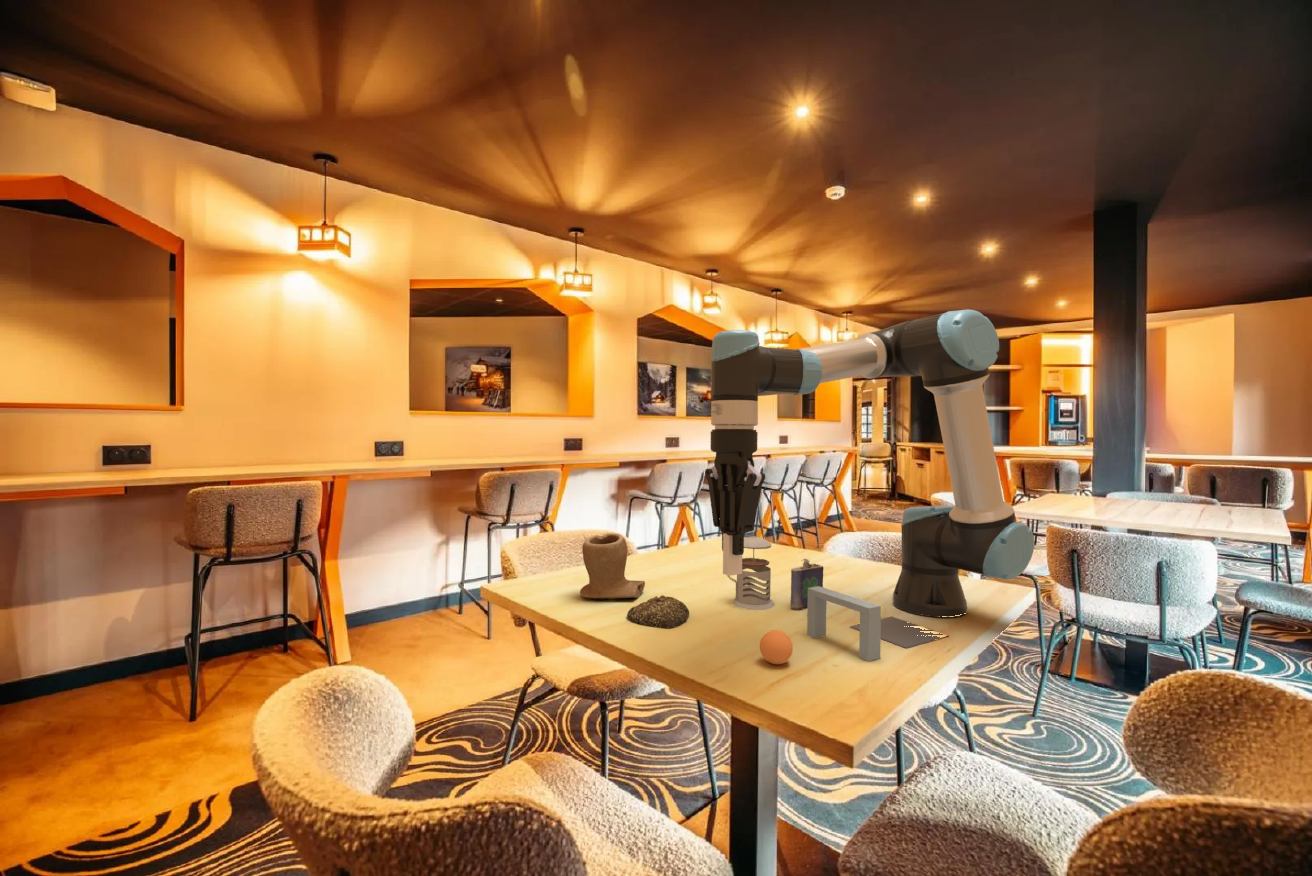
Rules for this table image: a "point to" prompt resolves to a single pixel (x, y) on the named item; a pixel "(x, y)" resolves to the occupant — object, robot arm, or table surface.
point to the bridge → (868, 611)
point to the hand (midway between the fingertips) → (732, 573)
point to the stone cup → (608, 568)
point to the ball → (776, 647)
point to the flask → (804, 583)
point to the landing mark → (902, 633)
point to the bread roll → (659, 612)
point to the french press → (746, 594)
